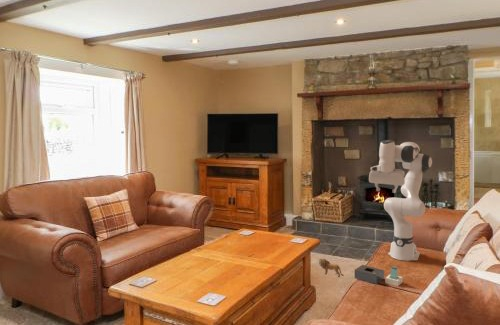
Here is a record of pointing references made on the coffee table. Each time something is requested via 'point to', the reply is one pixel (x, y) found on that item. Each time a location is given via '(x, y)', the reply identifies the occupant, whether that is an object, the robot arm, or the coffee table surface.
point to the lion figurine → (329, 266)
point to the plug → (394, 272)
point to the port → (369, 274)
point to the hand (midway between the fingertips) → (386, 191)
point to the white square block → (394, 280)
